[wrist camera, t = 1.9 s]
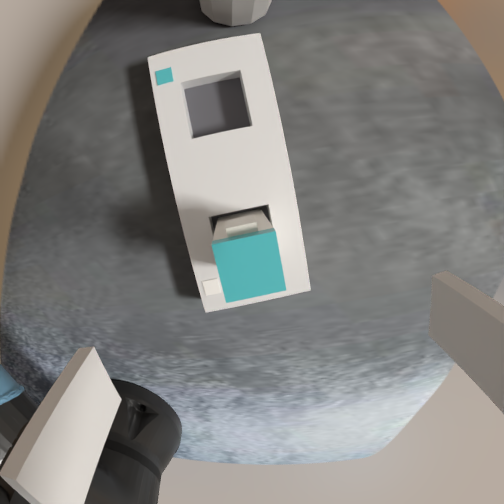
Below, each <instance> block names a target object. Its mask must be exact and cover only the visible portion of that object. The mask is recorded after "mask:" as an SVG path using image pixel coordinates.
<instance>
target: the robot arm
mask: <svg viewBox="0 0 504 504" xmlns="http://www.w3.org/2000/svg"><path fill="white" fill-rule="evenodd" d="M428 335H429V336H430V337H431V338H432V339H433V340H434V341H435V342H436V343H437V344H438V345H439V346H440V347H441V348H442V349H443V350H444V351H445V352H446V353H447V354H448V355H449V356H450V357H451V358H452V359H453V360H454V361H455V362H456V363H457V364H458V365H459V366H460V367H461V368H462V369H463V370H464V371H465V372H466V374H467V375H468V376H469V377H470V378H471V379H472V380H473V381H474V382H475V383H476V384H477V385H478V386H479V387H480V388H481V389H482V390H483V391H484V392H485V394H486V395H487V396H488V397H489V398H490V399H491V400H492V401H493V403H494V404H495V405H496V406H497V407H498V408H499V409H500V410H501V411H502V412H503V414H504V306H503V305H502V304H500V303H498V302H497V301H495V300H494V299H492V298H491V297H489V296H488V295H486V294H484V293H483V292H481V291H480V290H478V289H476V288H475V287H473V286H471V285H470V284H468V283H467V282H465V281H463V280H462V279H460V278H458V277H457V276H455V275H453V274H451V273H450V272H448V271H444V272H441V273H438V274H435V275H432V291H431V309H430V322H429V333H428ZM181 434H182V425H181V422H180V419H179V417H178V415H177V414H176V412H175V411H174V410H173V409H172V408H171V406H170V405H169V404H167V403H166V402H165V401H164V400H163V399H161V398H160V397H159V396H157V395H155V394H154V393H152V392H150V391H148V390H146V389H144V388H142V387H140V386H137V385H134V384H131V383H127V382H123V381H117V380H110V378H109V376H108V374H107V372H106V370H105V368H104V366H103V364H102V362H101V360H100V358H99V356H98V354H97V352H96V350H95V348H94V347H86V348H79V349H78V350H77V351H76V353H75V354H74V356H73V357H72V358H71V360H70V361H69V363H68V364H67V366H66V367H65V368H64V370H63V371H62V373H61V374H60V376H59V377H58V379H57V380H56V381H55V383H54V384H53V386H52V387H51V389H50V390H49V392H48V393H47V395H46V396H45V398H44V399H43V401H42V402H41V404H40V406H39V405H38V404H37V403H36V402H35V401H34V400H33V399H32V398H31V397H30V396H29V395H28V394H27V393H26V391H25V388H24V387H23V386H22V385H21V384H18V383H17V382H16V381H15V380H14V379H13V378H12V376H11V375H10V374H9V373H8V372H7V371H6V370H5V369H4V367H3V366H2V365H1V364H0V504H157V503H158V495H159V487H160V481H161V475H162V473H163V471H164V470H165V468H166V467H167V465H168V464H169V462H170V460H171V459H172V457H173V455H174V454H175V453H176V451H177V450H178V448H179V445H180V441H181Z"/></svg>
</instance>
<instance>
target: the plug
mask: <svg viewBox="0 0 504 504" xmlns="http://www.w3.org/2000/svg"><path fill="white" fill-rule="evenodd" d="M211 245H212V249H213V253H214V257H215V261H216V265H217V269H218V273H219V277H220V281H221V285H222V289H223V293H224V297H225V301H226V303H229V302H234V301H239V300H244V299H249V298H253V297H258V296H263V295H267V294H272V293H277V292H281V291H286V285H285V279H284V274H283V268H282V262H281V257H280V251H279V246H278V241H277V235H276V231H275V229H274V228H273V226H272V225H271V223H270V222H269V220H268V219H267V218H266V216H265V215H264V213H263V212H262V210H261V209H257V210H252V211H247V212H242V213H238V214H233V215H229V216H224V217H219V218H218V220H217V224H216V228H215V232H214V236H213V240H212V244H211Z"/></svg>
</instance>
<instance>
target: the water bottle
mask: <svg viewBox="0 0 504 504" xmlns="http://www.w3.org/2000/svg"><path fill="white" fill-rule="evenodd" d="M199 1H200V6H201V11H202V12H203V13H204V14H205V15H206V16H208V17H209V18H210V19H211V20H212V21H213V22H217V23H221V24H225V25H229V26H237V25H244V24H251V23H253V22H254V21H256V20H257V19H259V18H261V17H262V16H264V15H265V14H266V12H267V10H268V8H269V6H270V3H271V1H272V0H199Z"/></svg>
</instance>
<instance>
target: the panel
mask: <svg viewBox="0 0 504 504" xmlns="http://www.w3.org/2000/svg"><path fill="white" fill-rule="evenodd" d="M148 64H149V70H150V76H151V82H152V88H153V93H154V99H155V104H156V110H157V115H158V120H159V125H160V131H161V136H162V140H163V145H164V150H165V155H166V160H167V164H168V169H169V173H170V178H171V182H172V187H173V191H174V195H175V199H176V204H177V208H178V212H179V216H180V220H181V224H182V228H183V232H184V236H185V240H186V244H187V248H188V251H189V255H190V259H191V263H192V266H193V270H194V274H195V277H196V281H197V285H198V288H199V292H200V295H201V299H202V302H203V305H204V309H205V312H211V311H216V310H221V309H226V308H231V307H236V306H241V305H246V304H251V303H256V302H260V301H265V300H270V299H274V298H279V297H283V296H288V295H292V294H296V293H301V292H305V291H309V290H311V289H310V282H309V275H308V268H307V262H306V255H305V249H304V243H303V236H302V230H301V224H300V218H299V212H298V207H297V201H296V195H295V190H294V185H293V179H292V174H291V169H290V163H289V158H288V153H287V148H286V143H285V138H284V134H283V129H282V124H281V119H280V115H279V110H278V106H277V101H276V97H275V92H274V88H273V83H272V79H271V75H270V71H269V67H268V62H267V58H266V54H265V50H264V46H263V42H262V38H261V35H260V33H257V34H250V35H243V36H236V37H230V38H225V39H219V40H214V41H209V42H204V43H200V44H195V45H191V46H187V47H183V48H179V49H175V50H171V51H167V52H164V53H160V54H157V55H153V56H150V57H148ZM257 209H261V210H262V212H263V213H264V215H265V216H266V218H267V219H268V220H269V222H270V223H271V225H272V226H273V228H274V229H275V231H276V235H277V241H278V246H279V251H280V257H281V262H282V268H283V274H284V279H285V285H286V291H281V292H277V293H272V294H267V295H263V296H258V297H253V298H249V299H244V300H239V301H234V302H229V303H226V301H225V297H224V293H223V289H222V285H221V281H220V277H219V273H218V269H217V265H216V261H215V257H214V253H213V249H212V245H211V244H212V240H213V236H214V232H215V228H216V224H217V220H218V218H219V217H224V216H229V215H233V214H238V213H242V212H247V211H252V210H257Z"/></svg>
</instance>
